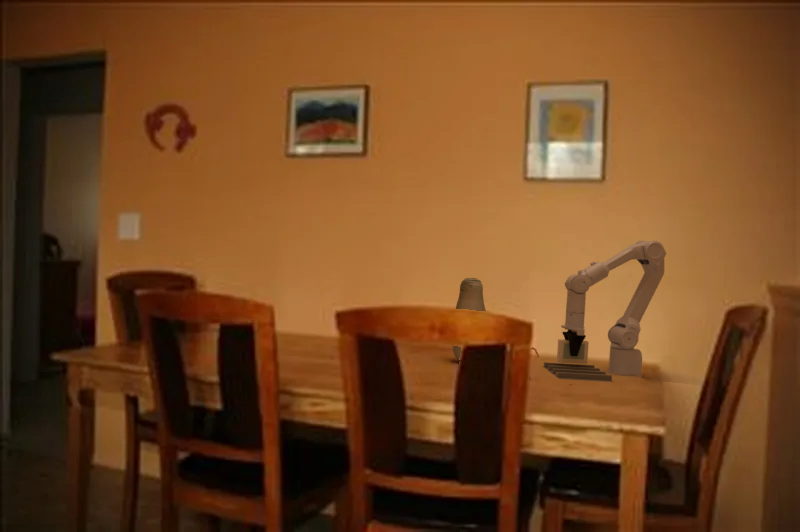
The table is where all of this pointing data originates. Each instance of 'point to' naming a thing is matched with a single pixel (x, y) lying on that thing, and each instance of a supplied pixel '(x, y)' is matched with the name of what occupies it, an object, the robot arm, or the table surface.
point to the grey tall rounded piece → (469, 301)
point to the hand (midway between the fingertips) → (572, 355)
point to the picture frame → (564, 353)
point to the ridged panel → (577, 372)
